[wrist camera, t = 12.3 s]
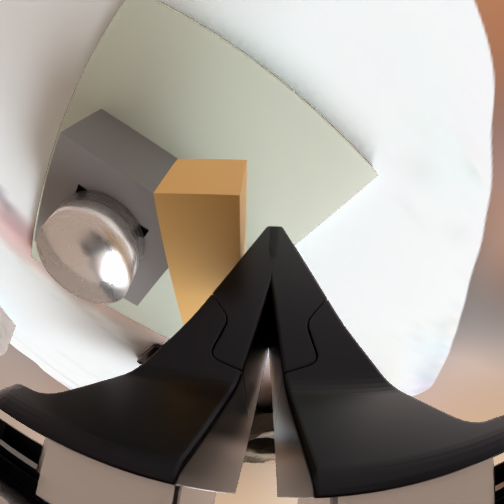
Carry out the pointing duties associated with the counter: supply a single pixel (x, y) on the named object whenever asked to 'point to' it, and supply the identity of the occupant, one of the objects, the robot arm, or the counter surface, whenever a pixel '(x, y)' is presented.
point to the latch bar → (202, 226)
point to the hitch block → (191, 140)
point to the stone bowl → (261, 439)
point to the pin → (92, 246)
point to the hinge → (5, 331)
